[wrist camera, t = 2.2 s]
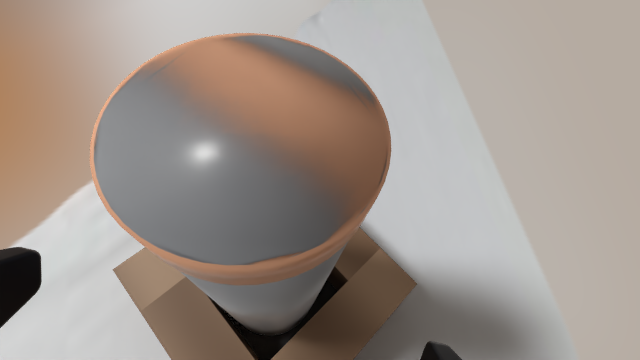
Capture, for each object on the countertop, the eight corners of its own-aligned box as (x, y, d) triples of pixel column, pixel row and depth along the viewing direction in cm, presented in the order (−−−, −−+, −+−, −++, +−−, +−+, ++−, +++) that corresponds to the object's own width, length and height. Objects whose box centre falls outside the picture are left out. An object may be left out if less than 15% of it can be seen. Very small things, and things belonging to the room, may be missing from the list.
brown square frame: (256, 457, 14) (250, 480, 11) (138, 283, 17) (112, 269, 14) (397, 294, 18) (417, 283, 15) (283, 178, 21) (283, 152, 18)
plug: (266, 358, 16) (210, 358, 3) (211, 286, 17) (34, 106, 5) (332, 292, 17) (445, 141, 5) (278, 232, 19) (270, 6, 7)
